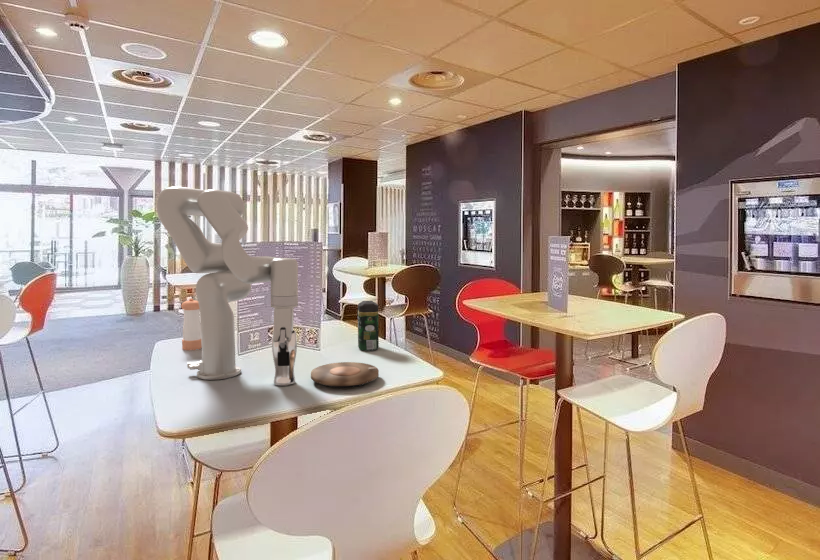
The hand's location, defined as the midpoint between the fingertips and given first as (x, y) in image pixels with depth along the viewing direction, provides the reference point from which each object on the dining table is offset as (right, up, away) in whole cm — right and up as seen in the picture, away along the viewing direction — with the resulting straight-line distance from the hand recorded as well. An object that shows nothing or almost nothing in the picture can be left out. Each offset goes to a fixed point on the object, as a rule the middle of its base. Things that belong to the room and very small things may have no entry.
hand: (284, 361), depth 131 cm
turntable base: (+17, -6, +4) cm, 19 cm away
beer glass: (0, -6, +1) cm, 6 cm away
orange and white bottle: (-47, -3, +42) cm, 63 cm away
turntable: (+17, -5, +4) cm, 18 cm away
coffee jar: (+20, -3, +43) cm, 48 cm away
